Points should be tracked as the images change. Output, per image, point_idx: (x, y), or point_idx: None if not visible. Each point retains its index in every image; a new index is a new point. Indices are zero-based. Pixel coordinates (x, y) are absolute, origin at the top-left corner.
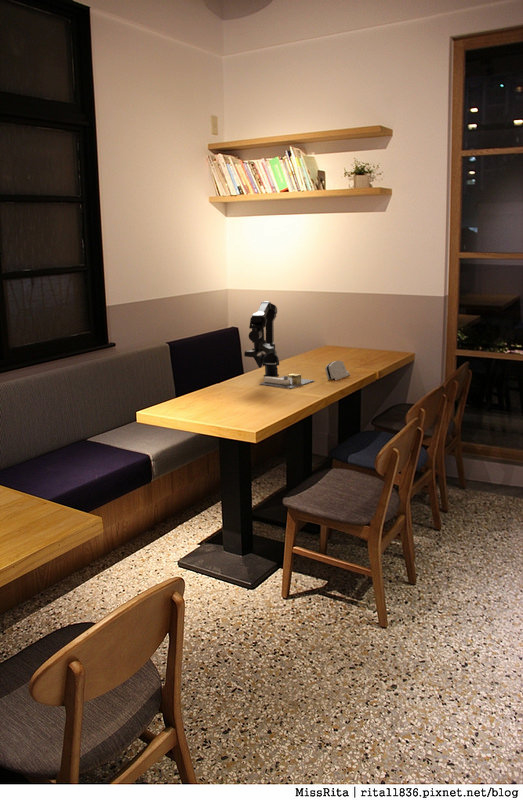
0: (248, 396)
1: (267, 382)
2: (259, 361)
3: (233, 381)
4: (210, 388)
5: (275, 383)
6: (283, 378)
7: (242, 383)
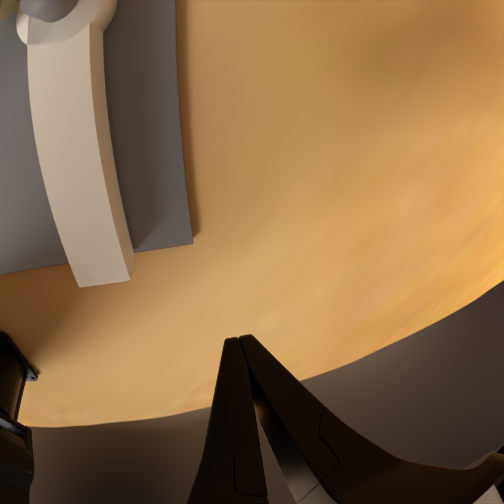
0: (481, 78)
1: None
2: (333, 421)
3: None
4: (394, 341)
5: None
6: (29, 68)
7: None
